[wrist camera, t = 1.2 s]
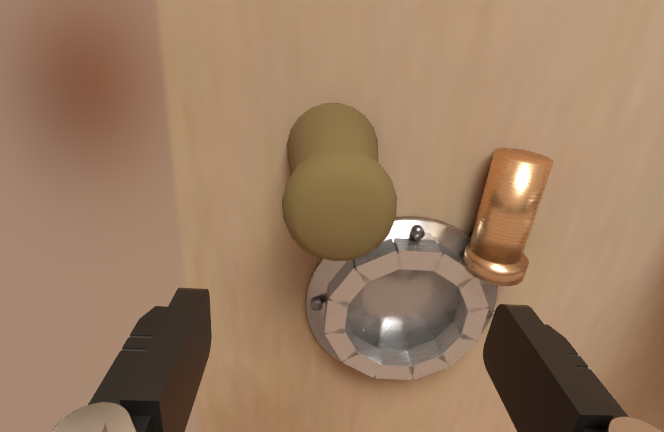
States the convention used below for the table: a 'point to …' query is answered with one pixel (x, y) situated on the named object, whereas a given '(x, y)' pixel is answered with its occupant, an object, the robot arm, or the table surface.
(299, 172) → the cork
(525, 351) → the robot arm
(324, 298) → the flange seat
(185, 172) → the table surface
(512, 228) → the pipe stub
